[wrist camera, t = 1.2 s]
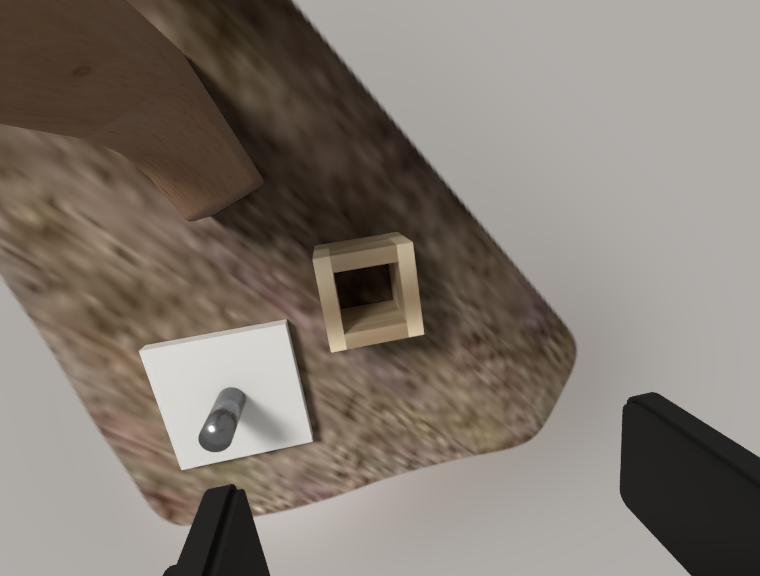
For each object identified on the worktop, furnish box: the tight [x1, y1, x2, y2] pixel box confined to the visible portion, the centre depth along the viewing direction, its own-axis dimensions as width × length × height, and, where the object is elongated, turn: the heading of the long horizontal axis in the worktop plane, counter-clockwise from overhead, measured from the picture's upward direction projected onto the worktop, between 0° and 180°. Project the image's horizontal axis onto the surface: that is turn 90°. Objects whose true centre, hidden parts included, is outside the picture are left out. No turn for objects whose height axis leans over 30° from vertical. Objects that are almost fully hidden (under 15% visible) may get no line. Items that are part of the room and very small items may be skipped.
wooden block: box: [0, 0, 263, 222], centre depth 16 cm, size 9×4×18 cm, turn 30°
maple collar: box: [312, 232, 424, 352], centre depth 26 cm, size 6×6×5 cm
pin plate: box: [139, 319, 313, 470], centre depth 27 cm, size 10×10×6 cm
